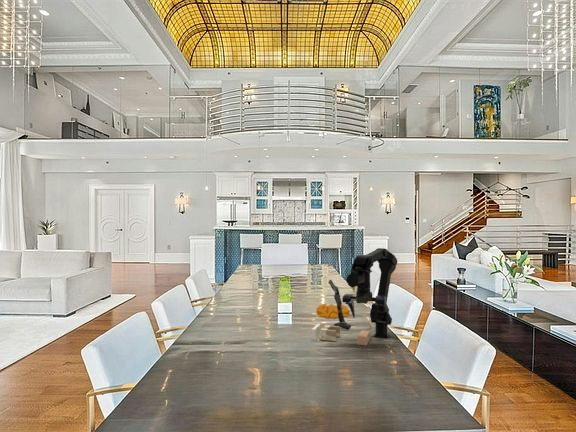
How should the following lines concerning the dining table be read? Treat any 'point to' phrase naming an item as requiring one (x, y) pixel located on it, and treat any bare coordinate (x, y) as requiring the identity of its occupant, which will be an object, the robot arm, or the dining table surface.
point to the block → (330, 332)
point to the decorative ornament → (331, 311)
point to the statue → (339, 309)
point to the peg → (363, 337)
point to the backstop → (316, 331)
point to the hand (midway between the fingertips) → (364, 318)
